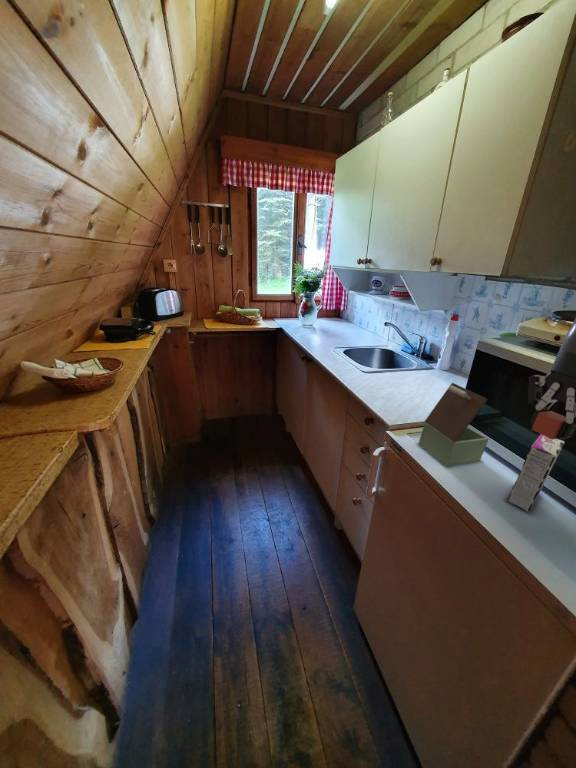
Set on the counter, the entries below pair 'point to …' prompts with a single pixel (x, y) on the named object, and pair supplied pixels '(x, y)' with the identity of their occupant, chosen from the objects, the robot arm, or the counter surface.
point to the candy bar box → (535, 471)
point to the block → (549, 424)
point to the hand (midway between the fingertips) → (548, 432)
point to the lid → (455, 411)
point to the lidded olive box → (453, 446)
